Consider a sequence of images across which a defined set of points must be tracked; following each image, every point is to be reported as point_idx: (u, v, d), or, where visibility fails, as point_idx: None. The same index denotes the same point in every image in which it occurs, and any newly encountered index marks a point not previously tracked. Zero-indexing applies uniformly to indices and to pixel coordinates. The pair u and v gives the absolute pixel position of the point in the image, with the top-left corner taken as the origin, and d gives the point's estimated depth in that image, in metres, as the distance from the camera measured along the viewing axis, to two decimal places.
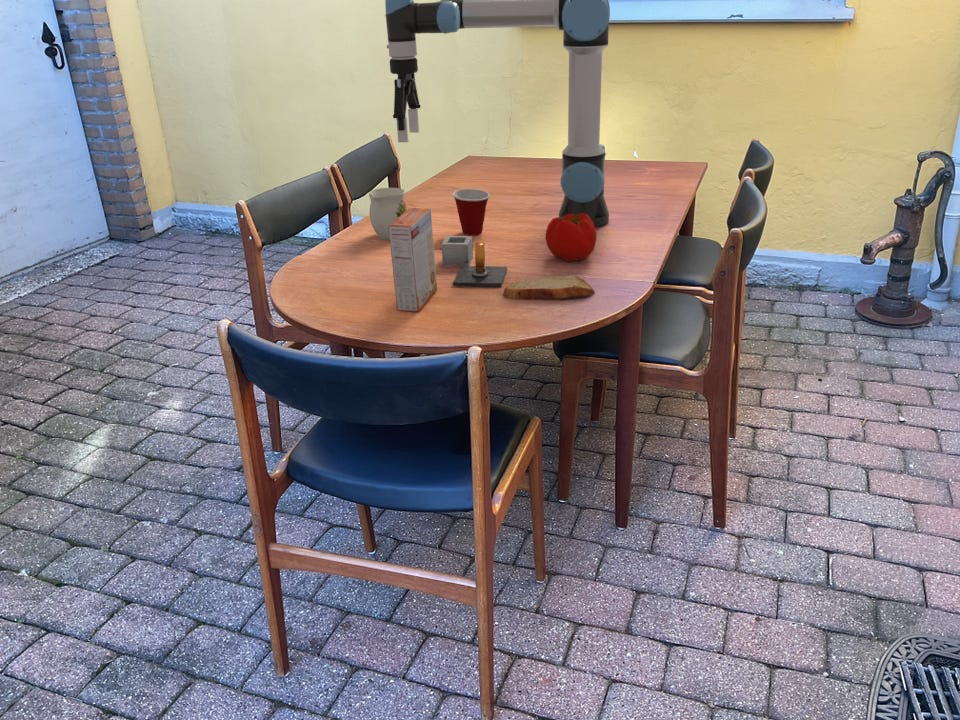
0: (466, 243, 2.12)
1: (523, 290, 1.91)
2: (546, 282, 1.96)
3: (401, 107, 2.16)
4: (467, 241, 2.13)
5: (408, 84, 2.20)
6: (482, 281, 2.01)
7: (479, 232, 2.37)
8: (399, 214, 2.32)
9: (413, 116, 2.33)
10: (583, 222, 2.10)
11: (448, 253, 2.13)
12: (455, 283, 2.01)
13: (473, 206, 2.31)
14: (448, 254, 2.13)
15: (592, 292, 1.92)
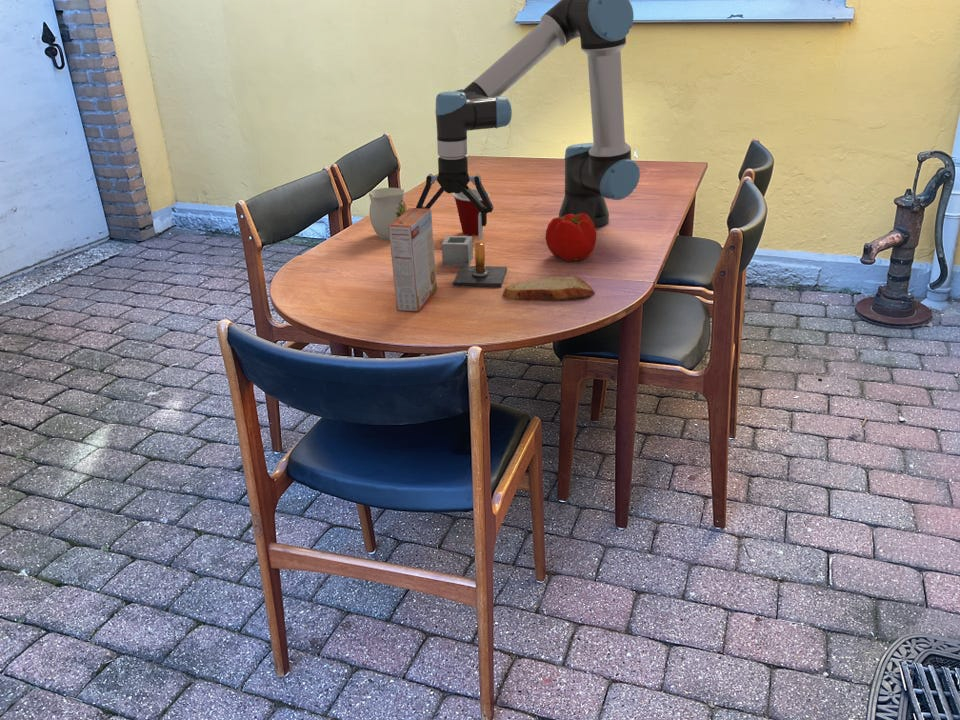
0: (466, 243, 2.12)
1: (523, 291, 1.91)
2: (546, 283, 1.96)
3: (418, 201, 2.10)
4: (467, 241, 2.13)
5: (443, 183, 2.07)
6: (482, 281, 2.01)
7: None
8: (399, 214, 2.32)
9: None
10: (583, 222, 2.10)
11: (448, 253, 2.13)
12: (455, 283, 2.01)
13: (473, 206, 2.31)
14: (448, 254, 2.13)
15: (592, 293, 1.92)
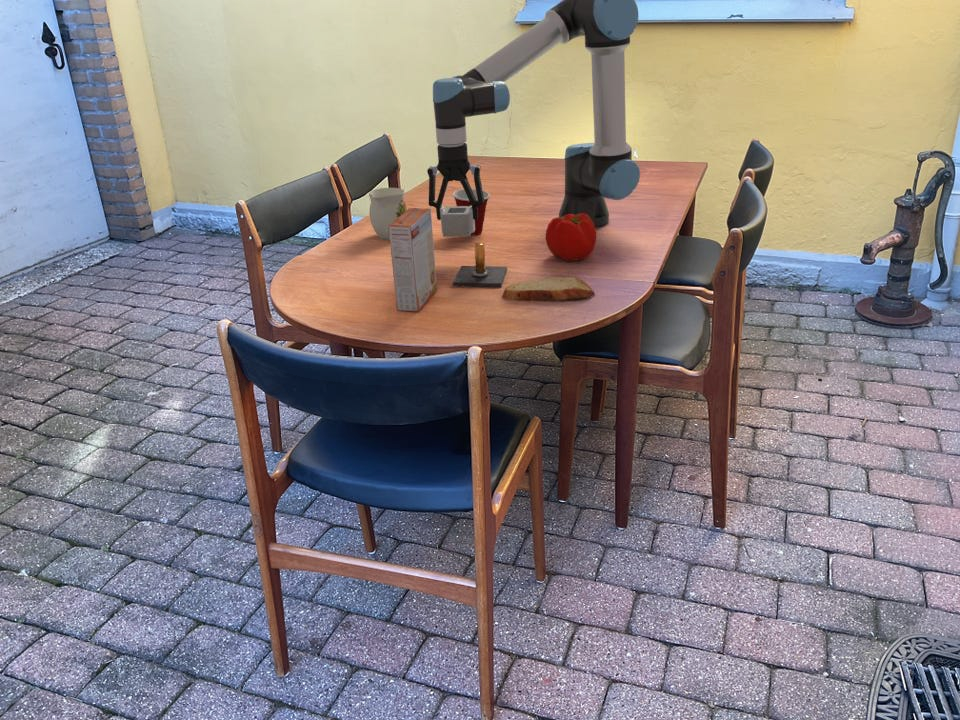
0: (466, 213, 2.09)
1: (523, 291, 1.90)
2: (546, 284, 1.95)
3: None
4: (467, 211, 2.10)
5: (444, 173, 2.06)
6: (482, 281, 2.01)
7: (479, 232, 2.37)
8: (399, 214, 2.32)
9: None
10: (583, 222, 2.10)
11: (448, 224, 2.10)
12: (455, 283, 2.01)
13: None
14: (448, 225, 2.10)
15: (592, 294, 1.91)
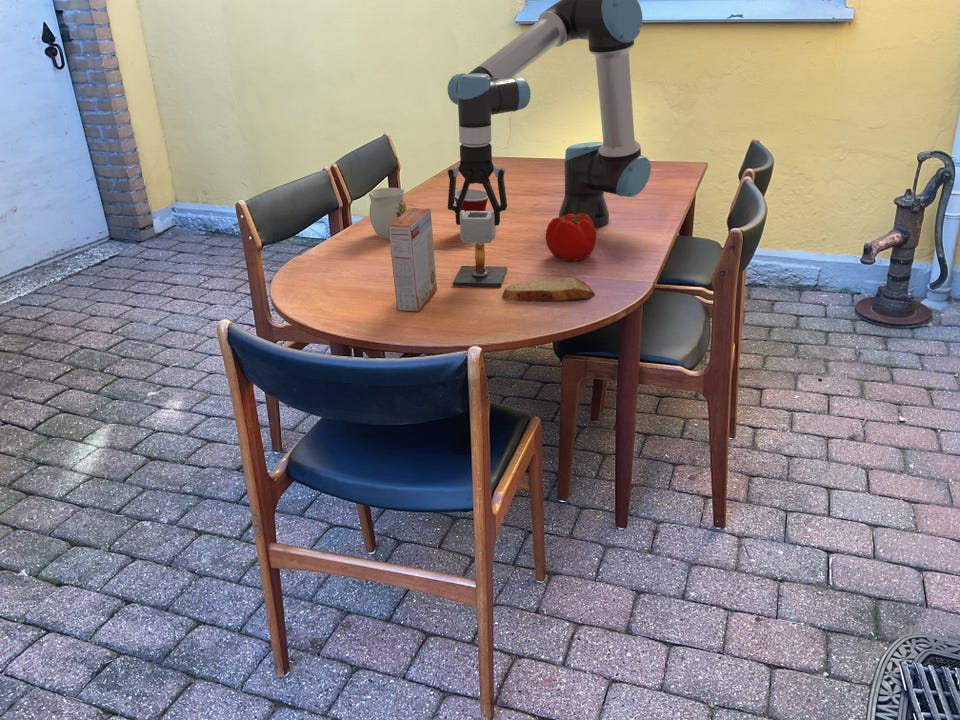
0: (488, 218, 1.95)
1: (522, 292, 1.90)
2: (546, 284, 1.95)
3: None
4: (489, 216, 1.97)
5: (466, 174, 1.92)
6: (482, 281, 2.01)
7: None
8: (399, 214, 2.32)
9: None
10: (583, 222, 2.10)
11: (468, 229, 1.96)
12: (455, 283, 2.01)
13: (473, 206, 2.31)
14: (468, 230, 1.96)
15: (592, 294, 1.91)
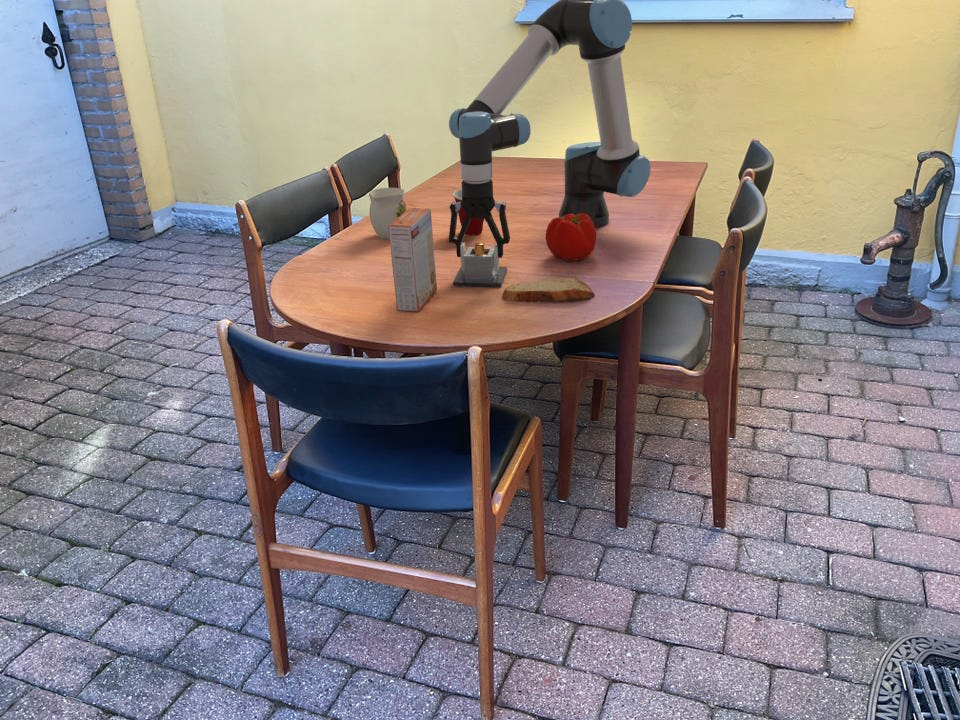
0: (490, 255, 2.00)
1: (522, 292, 1.90)
2: (546, 285, 1.95)
3: (449, 233, 2.00)
4: (491, 253, 2.01)
5: (468, 209, 1.96)
6: (482, 281, 2.01)
7: (479, 232, 2.37)
8: (399, 214, 2.32)
9: None
10: (583, 222, 2.10)
11: (470, 266, 2.01)
12: (455, 283, 2.01)
13: None
14: (471, 267, 2.01)
15: (592, 295, 1.91)
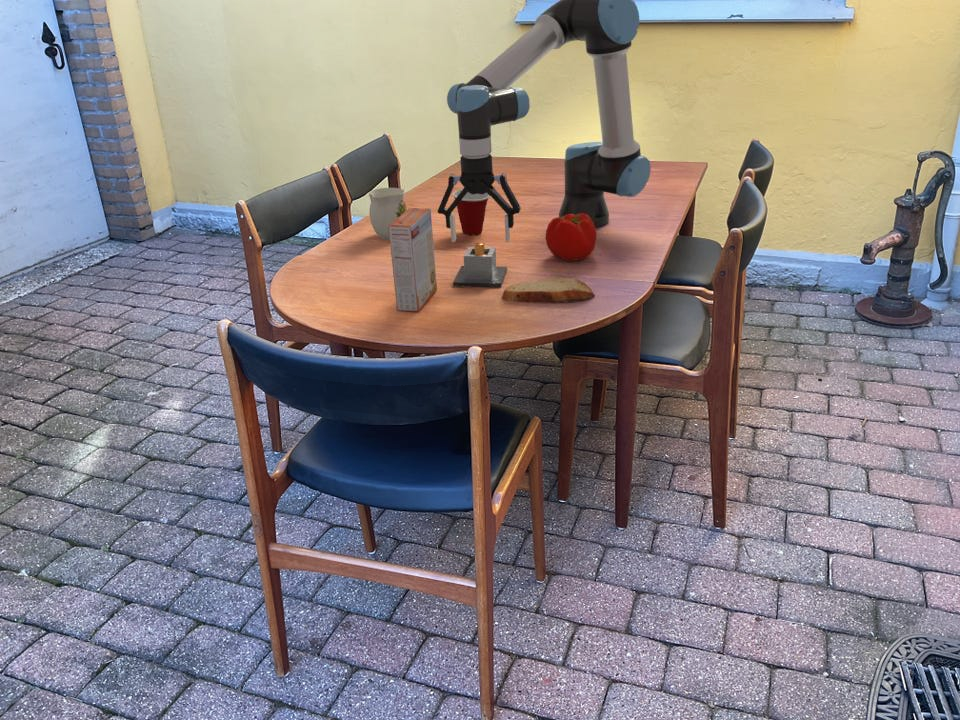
0: (490, 255, 2.00)
1: (522, 293, 1.90)
2: (546, 285, 1.95)
3: None
4: (491, 253, 2.01)
5: (467, 184, 1.94)
6: (482, 281, 2.01)
7: (479, 232, 2.37)
8: (399, 214, 2.32)
9: None
10: (583, 222, 2.10)
11: (470, 266, 2.01)
12: (455, 283, 2.01)
13: (473, 206, 2.31)
14: (471, 267, 2.01)
15: (592, 295, 1.91)
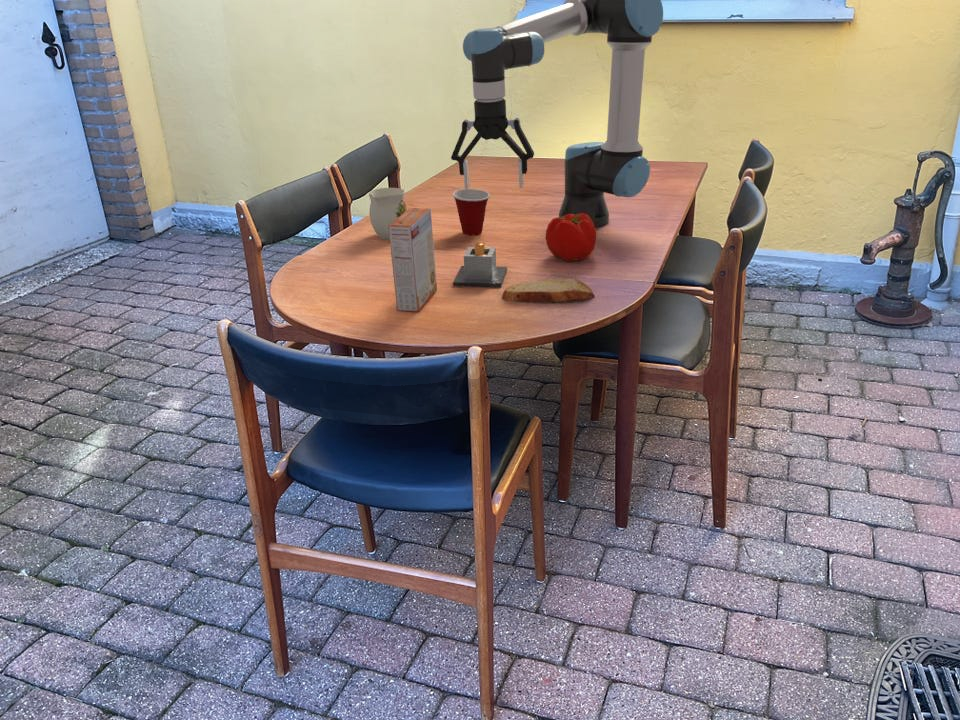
0: (490, 255, 2.00)
1: (522, 293, 1.90)
2: (546, 285, 1.95)
3: (454, 150, 1.98)
4: (491, 253, 2.01)
5: (480, 129, 1.94)
6: (482, 281, 2.01)
7: (479, 232, 2.37)
8: (399, 214, 2.32)
9: None
10: (583, 222, 2.10)
11: (470, 266, 2.01)
12: (455, 283, 2.01)
13: (473, 206, 2.31)
14: (471, 267, 2.01)
15: (592, 296, 1.90)
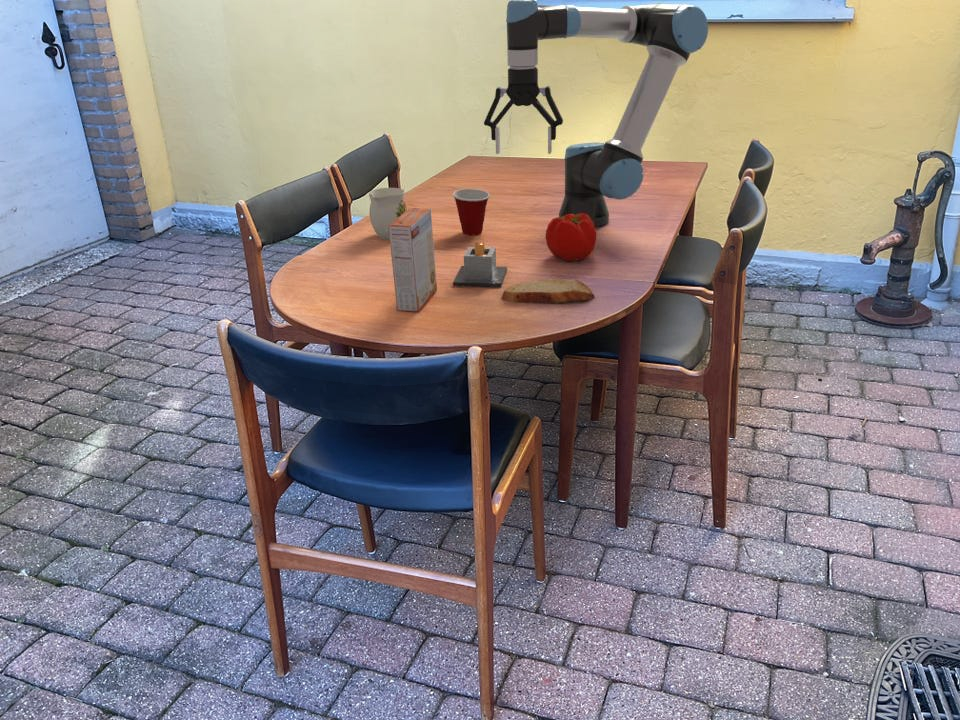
0: (490, 255, 2.00)
1: (522, 293, 1.89)
2: (546, 286, 1.94)
3: None
4: (491, 253, 2.01)
5: (513, 95, 2.04)
6: (482, 281, 2.01)
7: (479, 232, 2.37)
8: (399, 214, 2.32)
9: None
10: (583, 222, 2.10)
11: (470, 266, 2.01)
12: (455, 283, 2.01)
13: (473, 206, 2.31)
14: (471, 267, 2.01)
15: (592, 296, 1.90)
